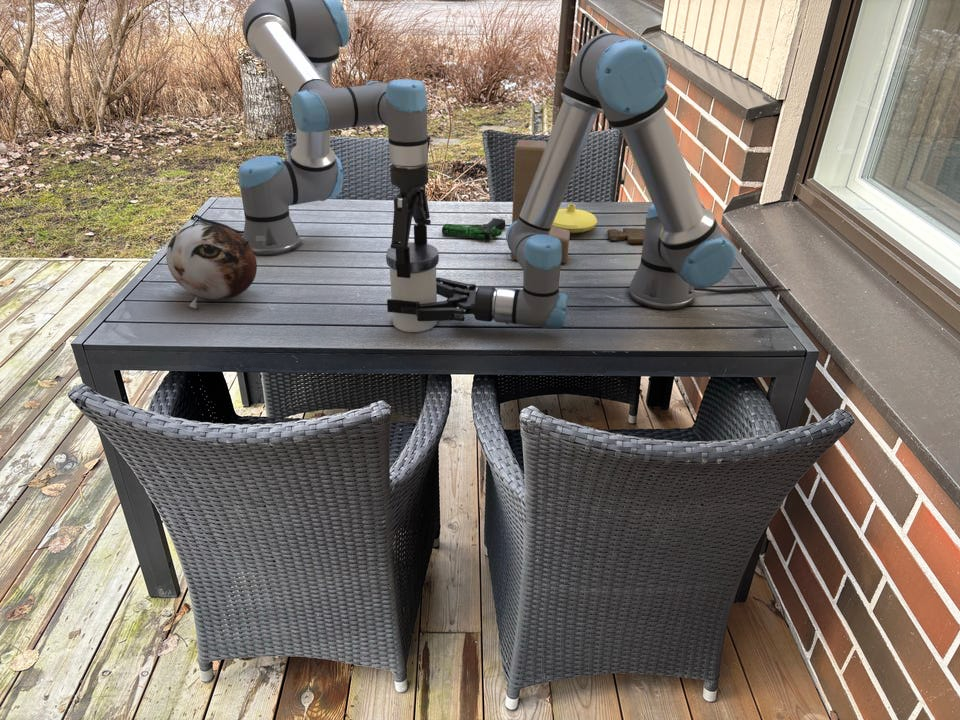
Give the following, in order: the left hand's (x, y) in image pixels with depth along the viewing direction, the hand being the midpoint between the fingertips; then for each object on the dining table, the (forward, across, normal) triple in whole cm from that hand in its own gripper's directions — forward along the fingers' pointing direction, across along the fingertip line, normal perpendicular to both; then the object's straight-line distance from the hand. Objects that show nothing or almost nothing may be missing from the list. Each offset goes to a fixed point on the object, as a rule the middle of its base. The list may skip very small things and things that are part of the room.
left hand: (412, 265), depth 153 cm
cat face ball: (+14, -1, -49) cm, 51 cm away
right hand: (+8, 0, -4) cm, 9 cm away
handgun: (+14, -58, +1) cm, 59 cm away
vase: (+14, -67, +28) cm, 74 cm away
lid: (-3, 0, 0) cm, 3 cm away
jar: (+14, 0, 0) cm, 14 cm away
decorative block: (+14, -43, +22) cm, 50 cm away
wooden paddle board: (+14, -65, +52) cm, 84 cm away
